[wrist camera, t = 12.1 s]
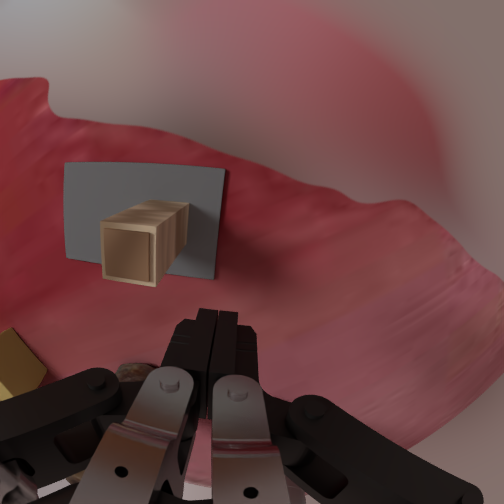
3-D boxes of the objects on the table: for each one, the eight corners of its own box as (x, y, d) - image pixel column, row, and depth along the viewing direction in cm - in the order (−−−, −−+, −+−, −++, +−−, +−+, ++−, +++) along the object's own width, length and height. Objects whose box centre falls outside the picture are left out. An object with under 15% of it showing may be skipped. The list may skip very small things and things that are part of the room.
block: (189, 202, 25) (154, 227, 15) (186, 243, 26) (154, 288, 17) (150, 199, 25) (98, 221, 15) (148, 238, 26) (101, 279, 16)
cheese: (34, 384, 35) (11, 416, 26) (-2, 342, 32) (-29, 370, 23) (51, 370, 33) (24, 408, 24) (10, 322, 30) (-23, 353, 21)
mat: (225, 169, 25) (225, 169, 24) (213, 278, 28) (213, 279, 28) (66, 162, 24) (64, 162, 23) (68, 256, 27) (66, 257, 27)
